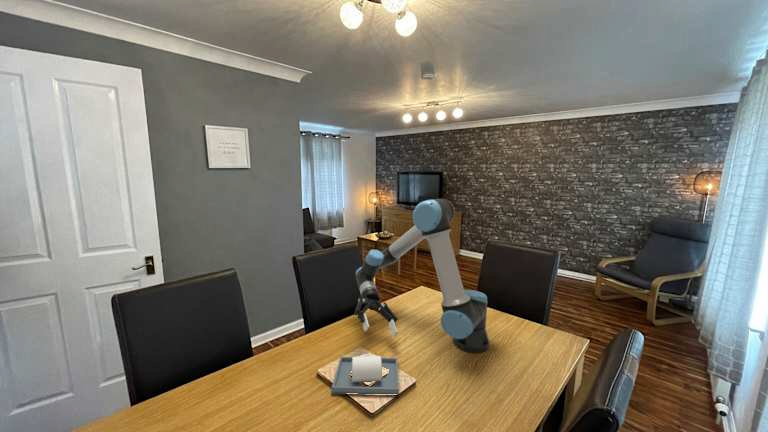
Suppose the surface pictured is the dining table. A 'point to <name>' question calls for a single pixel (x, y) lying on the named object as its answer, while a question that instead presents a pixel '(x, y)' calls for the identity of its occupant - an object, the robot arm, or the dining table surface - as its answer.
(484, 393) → the dining table surface
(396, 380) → the tray
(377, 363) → the mug
